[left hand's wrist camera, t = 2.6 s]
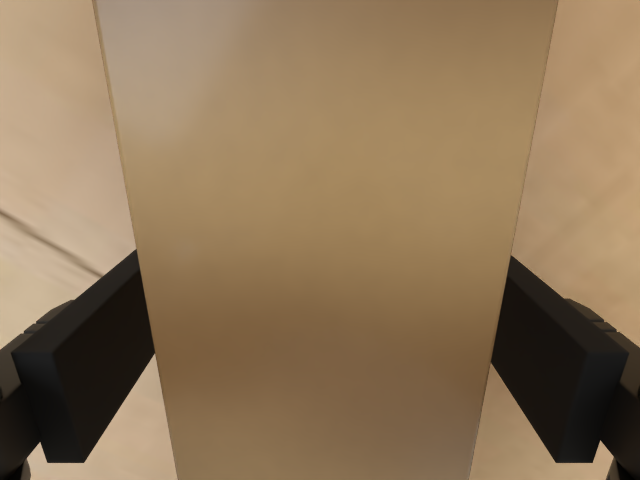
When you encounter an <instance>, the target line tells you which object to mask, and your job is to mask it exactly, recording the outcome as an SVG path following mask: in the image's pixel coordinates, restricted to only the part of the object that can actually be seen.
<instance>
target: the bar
mask: <svg viewBox="0 0 640 480" xmlns="http://www.w3.org/2000/svg"><path fill="white" fill-rule="evenodd" d="M92 2H93V8H94V13H95V19H96V25H97V30H98V36H99V41H100V47H101V52H102V58H103V64H104V69H105V75H106V80H107V86H108V92H109V97H110V103H111V108H112V114H113V120H114V125H115V131H116V136H117V142H118V148H119V153H120V159H121V164H122V170H123V175H124V181H125V187H126V192H127V198H128V203H129V209H130V215H131V220H132V226H133V231H134V237H135V243H136V248H137V254H138V259H139V265H140V271H141V276H142V282H143V287H144V293H145V298H146V304H147V310H148V315H149V321H150V326H151V332H152V338H153V343H154V349H155V354H156V360H157V366H158V371H159V377H160V382H161V388H162V394H163V399H164V405H165V410H166V416H167V421H168V427H169V433H170V438H171V444H172V449H173V455H174V461H175V466H176V472H177V477H178V480H469V475H470V470H471V464H472V459H473V454H474V448H475V443H476V438H477V432H478V427H479V422H480V416H481V411H482V406H483V400H484V395H485V390H486V384H487V379H488V374H489V368H490V363H491V358H492V352H493V347H494V341H495V336H496V331H497V325H498V320H499V315H500V309H501V304H502V299H503V293H504V288H505V283H506V277H507V272H508V267H509V261H510V256H511V251H512V245H513V240H514V235H515V229H516V224H517V219H518V213H519V208H520V202H521V197H522V192H523V186H524V181H525V176H526V170H527V165H528V160H529V154H530V149H531V144H532V138H533V133H534V128H535V122H536V117H537V112H538V106H539V101H540V96H541V90H542V85H543V80H544V74H545V69H546V63H547V58H548V53H549V47H550V42H551V37H552V31H553V26H554V21H555V15H556V10H557V5H558V0H92Z"/></svg>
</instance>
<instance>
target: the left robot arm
mask: <svg viewBox="0 0 640 480" xmlns="http://www.w3.org/2000/svg"><path fill="white" fill-rule="evenodd" d="M154 354H155V349H154V343H153V338H152V332H151V326H150V321H149V315H148V310H147V304H146V298H145V293H144V287H143V282H142V276H141V271H140V265H139V259H138V254H137V249H136V250H135V251H133V252H132V253H131V254H130V255H128V256H127V257H126V258H125V259H124V260H122V261H121V262H120V263H119V264H118V265H116V266H115V267H114V268H113V269H112V270H110V271H109V272H108V273H107V274H105V275H104V276H103V277H102V278H101V279H99V280H98V281H97V282H96V283H95V284H93V285H92V286H91V287H90V288H88V289H87V290H86V291H85V292H84V293H82V294H81V295H80V296H79V297H78V298H76V299H75V300H70V301H68V302H66V303H64V304H62V305H60V306H58V307H56V308H54V309H52V310H50V311H49V312H48V313H46V314H45V315H44V316H43V317H41V318H40V319H39V320H38V321H36V324H32V325H31V326H30V327H29V328H27V329H26V330H25V331H24V334H20V335H19V336H17V337H16V338H15V339H13V340H12V341H11V342H10V343H8V344H7V345H6V346H5V347H3V348H2V349H1V350H0V480H30V477H31V473H30V467H29V464H28V461H27V457H28V456H29V455H30V453H31V452H32V451H33V450H34V448H35V447H36V446H37V445H38V444H39V442H41V445H42V448H43V451H44V454H45V457H46V460H47V463H84V462H85V460H86V459H87V457H88V456H89V454H90V453H91V451H92V450H93V448H94V447H95V445H96V443H97V442H98V440H99V439H100V437H101V436H102V434H103V433H104V431H105V430H106V428H107V426H108V425H109V423H110V422H111V420H112V419H113V417H114V416H115V414H116V413H117V411H118V409H119V408H120V406H121V405H122V403H123V402H124V400H125V399H126V397H127V395H128V394H129V392H130V391H131V389H132V388H133V386H134V385H135V383H136V382H137V380H138V378H139V377H140V375H141V374H142V372H143V371H144V369H145V368H146V366H147V365H148V363H149V361H150V360H151V358H152V357H153V355H154ZM491 363H492V365H493V366H494V368H495V369H496V371H497V372H498V374H499V375H500V377H501V378H502V380H503V382H504V383H505V385H506V386H507V388H508V389H509V391H510V392H511V394H512V396H513V397H514V399H515V400H516V402H517V403H518V405H519V406H520V408H521V409H522V411H523V413H524V414H525V416H526V417H527V419H528V420H529V422H530V423H531V425H532V426H533V428H534V430H535V431H536V433H537V434H538V436H539V437H540V439H541V440H542V442H543V443H544V445H545V447H546V448H547V450H548V451H549V453H550V454H551V456H552V457H553V459H554V461H555V462H556V463H593V460H594V457H595V454H596V451H597V448H598V445H599V442H600V440H601V441H602V443H603V444H604V445H605V446H606V448H607V449H608V450H609V451H610V452H611V454H612V455H613V456H614V458H613V461H612V464H611V467H610V469H609V472H608V475H607V478H606V480H640V348H639V347H638V346H637V345H635V344H634V343H633V342H632V341H630V340H629V339H628V338H626V337H625V336H624V335H623V334H621V333H620V332H617V331H616V329H615V328H614V327H612V326H611V325H610V324H609V323H607V322H604V320H603V319H602V318H601V317H600V316H598V315H597V314H596V313H595V312H593V311H592V310H591V309H589V308H587V307H585V306H583V305H581V304H579V303H577V302H575V301H573V300H571V299H564V298H562V297H561V296H560V295H559V294H558V293H556V292H555V291H554V290H553V289H552V288H550V287H549V286H548V285H547V284H545V283H544V282H543V281H542V280H541V279H539V278H538V277H537V276H536V275H535V274H533V273H532V272H531V271H530V270H528V269H527V268H526V267H525V266H524V265H522V264H521V263H520V262H519V261H518V260H516V259H515V258H514V257H513V256H510V261H509V267H508V272H507V277H506V283H505V288H504V293H503V299H502V304H501V309H500V315H499V320H498V325H497V331H496V336H495V341H494V347H493V352H492V358H491Z"/></svg>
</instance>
